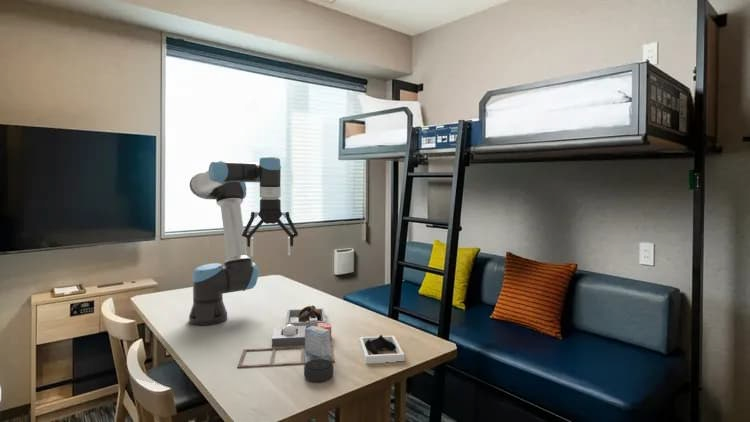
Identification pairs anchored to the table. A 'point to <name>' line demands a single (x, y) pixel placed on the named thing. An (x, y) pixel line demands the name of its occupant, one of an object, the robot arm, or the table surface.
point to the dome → (289, 330)
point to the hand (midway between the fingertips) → (270, 255)
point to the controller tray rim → (381, 357)
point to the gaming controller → (378, 345)
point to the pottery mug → (309, 314)
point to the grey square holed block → (288, 337)
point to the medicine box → (317, 341)
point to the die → (325, 326)
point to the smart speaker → (318, 370)
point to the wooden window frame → (308, 358)
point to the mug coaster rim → (296, 312)
